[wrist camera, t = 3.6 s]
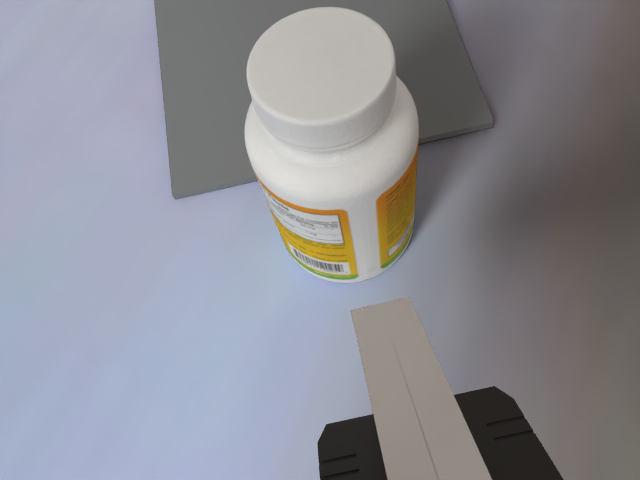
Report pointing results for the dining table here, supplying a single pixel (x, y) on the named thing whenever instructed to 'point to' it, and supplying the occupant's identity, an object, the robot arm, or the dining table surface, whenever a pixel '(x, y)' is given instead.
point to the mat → (233, 92)
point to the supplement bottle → (333, 142)
